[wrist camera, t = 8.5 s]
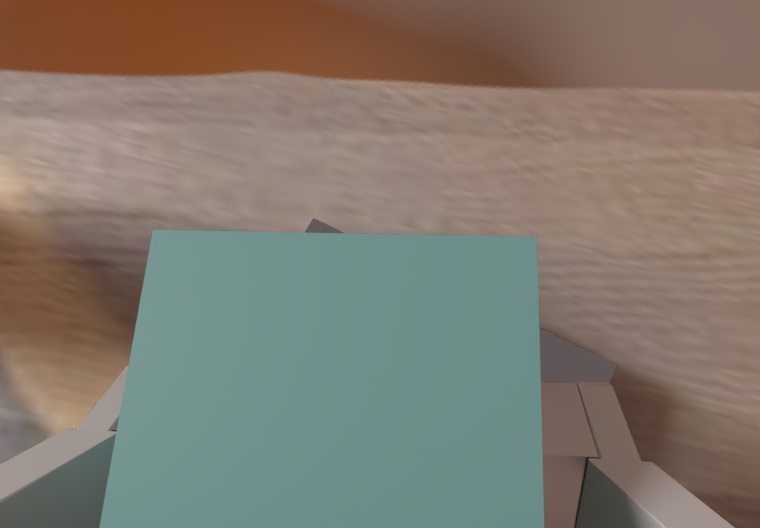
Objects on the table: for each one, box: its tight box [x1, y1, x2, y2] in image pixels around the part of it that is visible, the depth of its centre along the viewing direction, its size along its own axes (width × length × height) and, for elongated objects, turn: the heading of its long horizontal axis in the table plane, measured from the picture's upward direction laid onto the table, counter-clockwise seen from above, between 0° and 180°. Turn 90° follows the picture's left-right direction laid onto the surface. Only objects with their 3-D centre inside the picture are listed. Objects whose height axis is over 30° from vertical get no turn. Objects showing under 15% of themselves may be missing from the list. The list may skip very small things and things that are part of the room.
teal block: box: [99, 230, 544, 528], centre depth 10 cm, size 4×4×8 cm
